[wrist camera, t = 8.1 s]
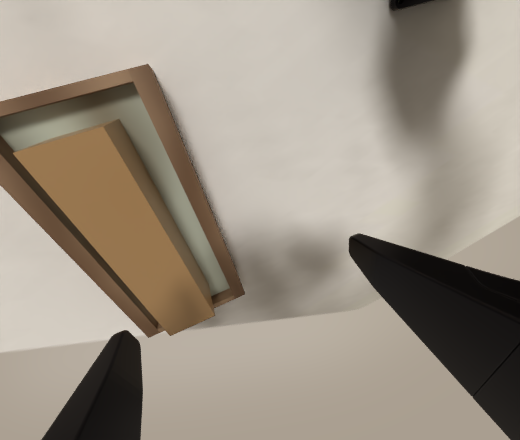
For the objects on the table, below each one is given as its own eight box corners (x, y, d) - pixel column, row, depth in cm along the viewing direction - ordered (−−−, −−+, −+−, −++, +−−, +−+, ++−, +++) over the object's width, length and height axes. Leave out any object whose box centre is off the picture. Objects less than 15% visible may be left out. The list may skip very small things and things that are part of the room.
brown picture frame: (152, 69, 13) (148, 64, 11) (236, 271, 23) (245, 294, 21) (-14, 112, 12) (-65, 118, 9) (151, 308, 22) (148, 337, 19)
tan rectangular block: (118, 118, 12) (103, 126, 9) (208, 283, 20) (215, 315, 17) (48, 139, 12) (8, 154, 9) (168, 300, 19) (168, 336, 17)
